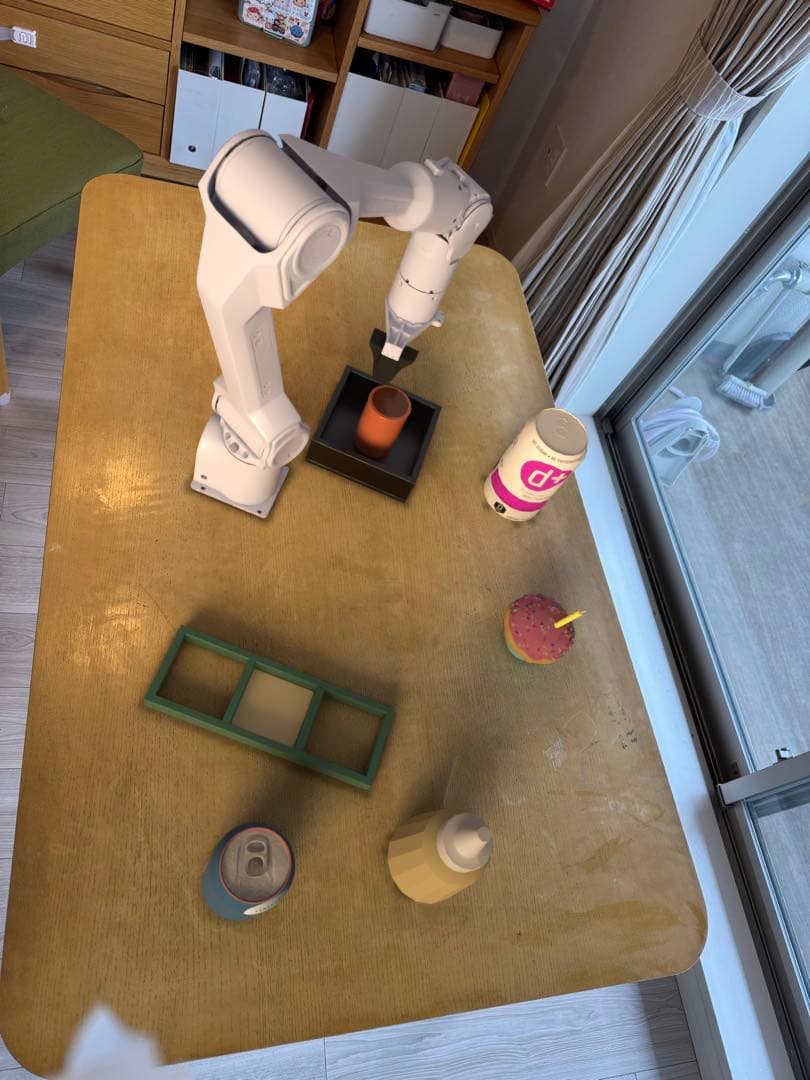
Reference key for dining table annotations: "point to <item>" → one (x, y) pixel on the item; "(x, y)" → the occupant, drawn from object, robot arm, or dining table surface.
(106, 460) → the dining table surface
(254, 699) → the rack
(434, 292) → the robot arm
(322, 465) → the open box
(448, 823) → the squeeze bottle
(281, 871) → the soda can
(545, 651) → the cupcake
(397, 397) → the tumbler
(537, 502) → the supplement can
